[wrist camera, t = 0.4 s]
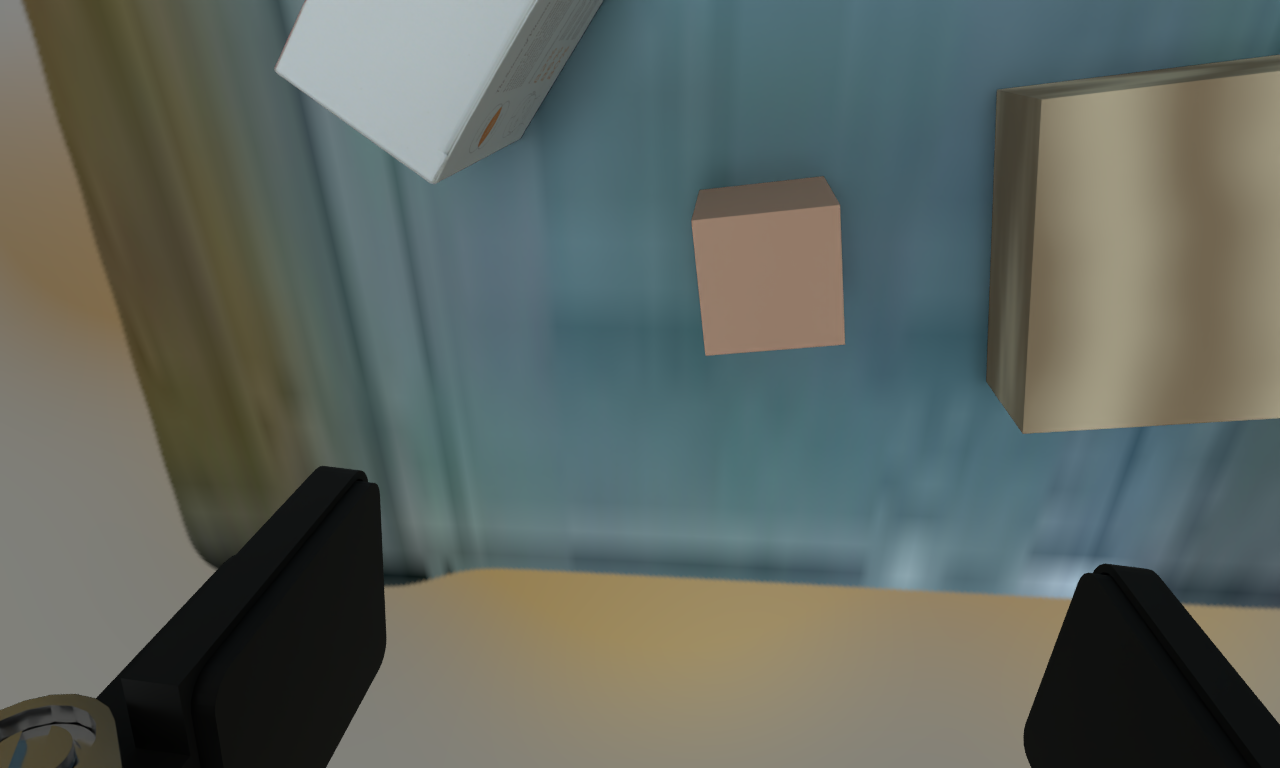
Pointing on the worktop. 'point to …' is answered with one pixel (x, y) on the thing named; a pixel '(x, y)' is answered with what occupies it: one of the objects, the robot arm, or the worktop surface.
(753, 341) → the terracotta block
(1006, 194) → the maple base block
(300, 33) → the small box
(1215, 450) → the worktop surface
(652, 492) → the worktop surface
